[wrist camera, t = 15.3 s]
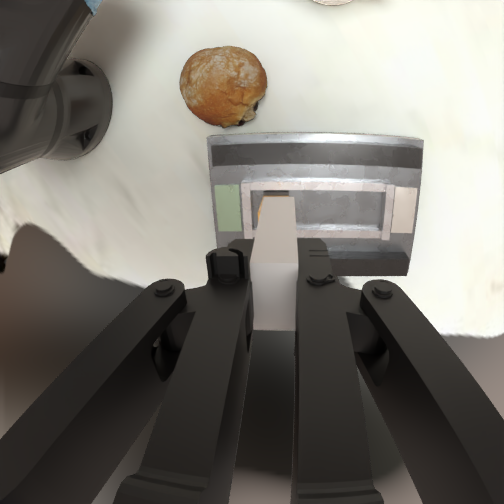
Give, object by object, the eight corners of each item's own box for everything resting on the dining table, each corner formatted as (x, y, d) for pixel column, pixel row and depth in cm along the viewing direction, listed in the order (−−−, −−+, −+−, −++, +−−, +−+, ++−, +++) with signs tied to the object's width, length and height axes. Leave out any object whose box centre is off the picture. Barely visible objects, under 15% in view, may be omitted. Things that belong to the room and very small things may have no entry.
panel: (222, 264, 46) (216, 279, 42) (210, 135, 38) (201, 139, 34) (403, 265, 42) (412, 281, 39) (417, 138, 34) (430, 142, 31)
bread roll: (265, 58, 36) (254, 22, 28) (275, 126, 36) (265, 97, 28) (192, 73, 38) (169, 42, 30) (196, 140, 38) (169, 117, 30)
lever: (265, 224, 40) (259, 248, 34) (263, 190, 38) (257, 208, 32) (289, 224, 40) (288, 248, 34) (289, 190, 38) (287, 208, 32)
